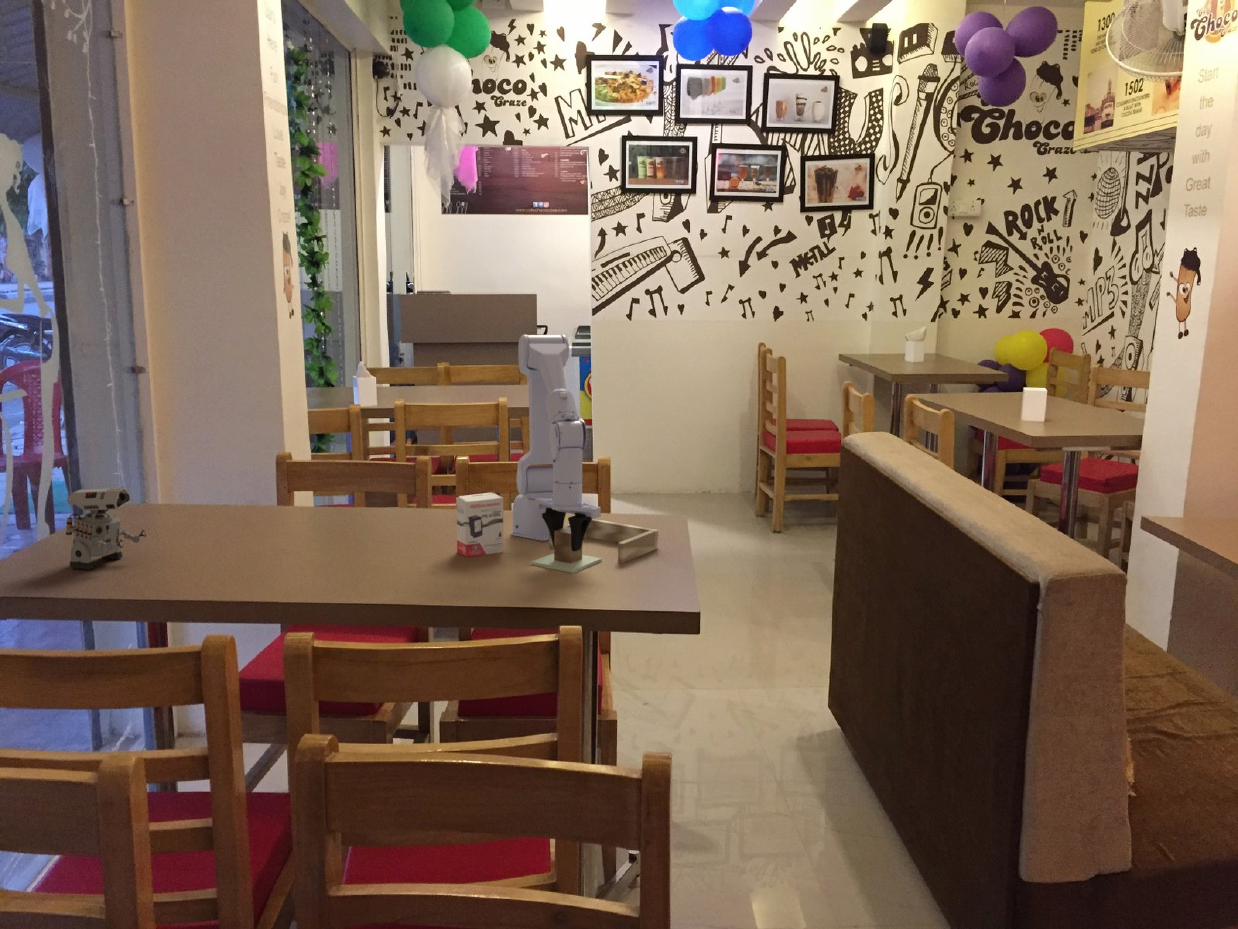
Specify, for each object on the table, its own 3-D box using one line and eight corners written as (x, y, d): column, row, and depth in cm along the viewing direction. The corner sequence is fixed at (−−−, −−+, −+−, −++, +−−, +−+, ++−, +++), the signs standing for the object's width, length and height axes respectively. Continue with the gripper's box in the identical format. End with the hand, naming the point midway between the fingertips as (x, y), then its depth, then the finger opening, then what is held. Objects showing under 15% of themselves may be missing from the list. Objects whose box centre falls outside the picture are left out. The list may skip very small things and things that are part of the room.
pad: (531, 564, 198) (531, 561, 198) (561, 553, 206) (561, 550, 206) (573, 573, 193) (573, 570, 193) (601, 561, 201) (601, 558, 201)
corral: (548, 548, 210) (548, 530, 209) (585, 535, 221) (586, 517, 221) (623, 563, 200) (623, 543, 199) (657, 548, 212) (658, 529, 211)
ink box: (466, 558, 202) (466, 500, 200) (456, 552, 206) (455, 496, 204) (504, 552, 207) (504, 496, 204) (493, 546, 211) (493, 491, 209)
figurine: (114, 573, 187) (108, 495, 184) (63, 568, 190) (56, 491, 187) (148, 561, 196) (143, 485, 193) (98, 555, 199) (92, 481, 196)
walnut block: (554, 560, 199) (554, 530, 198) (565, 555, 203) (566, 526, 202) (570, 563, 197) (570, 533, 196) (582, 558, 201) (582, 529, 199)
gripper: (525, 479, 197) (525, 546, 200) (586, 489, 190) (585, 558, 192) (547, 474, 203) (546, 539, 205) (607, 483, 195) (605, 550, 198)
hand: (566, 548), depth 199 cm, fingers closed on walnut block, 4 cm apart
